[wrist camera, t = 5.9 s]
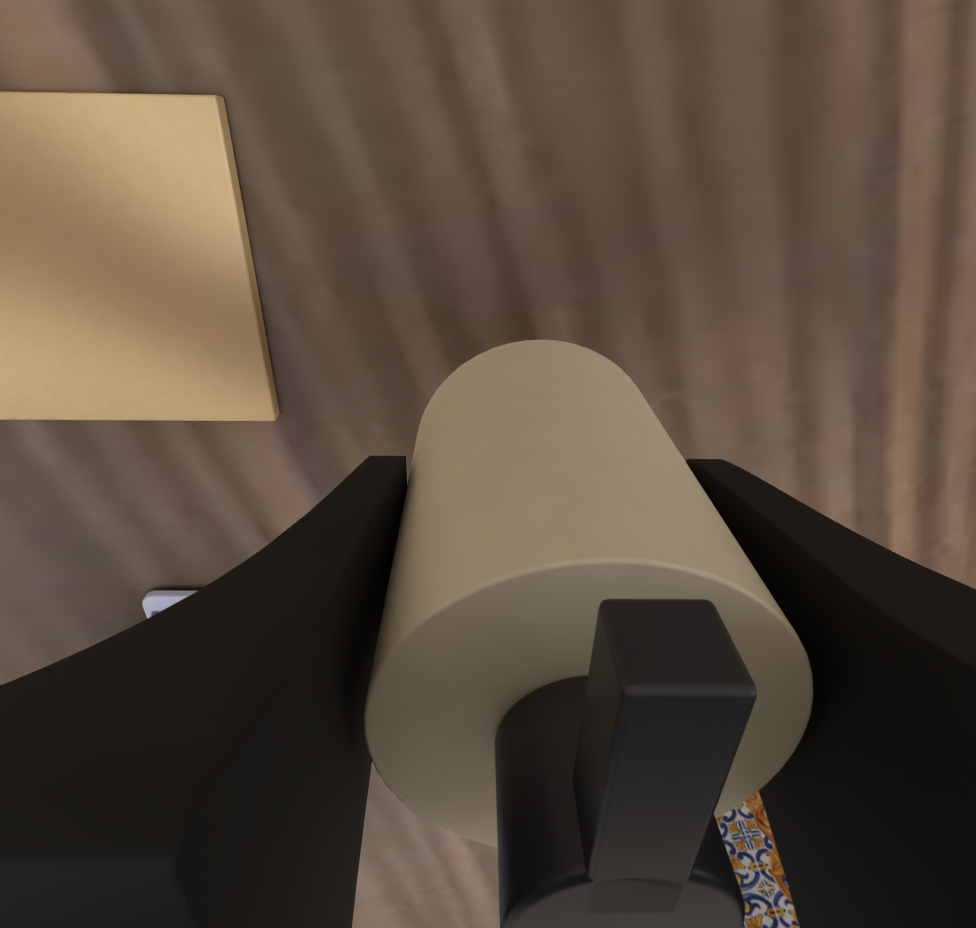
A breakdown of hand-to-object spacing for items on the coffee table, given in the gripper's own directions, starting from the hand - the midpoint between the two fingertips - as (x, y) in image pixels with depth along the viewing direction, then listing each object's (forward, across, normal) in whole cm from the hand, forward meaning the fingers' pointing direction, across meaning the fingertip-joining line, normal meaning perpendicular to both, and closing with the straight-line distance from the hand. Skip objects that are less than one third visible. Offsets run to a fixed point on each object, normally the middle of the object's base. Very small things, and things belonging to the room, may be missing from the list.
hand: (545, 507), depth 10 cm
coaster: (+9, +12, -2) cm, 16 cm away
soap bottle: (+2, 0, 0) cm, 2 cm away
